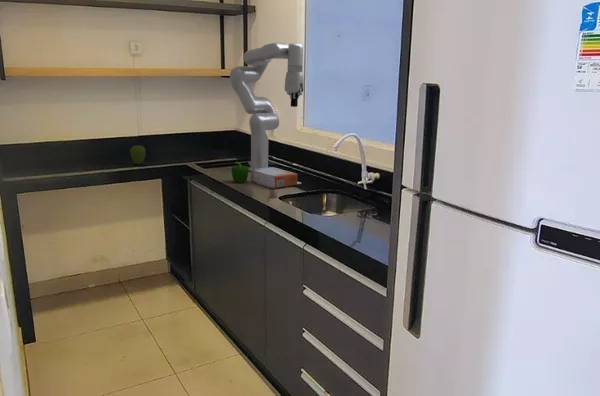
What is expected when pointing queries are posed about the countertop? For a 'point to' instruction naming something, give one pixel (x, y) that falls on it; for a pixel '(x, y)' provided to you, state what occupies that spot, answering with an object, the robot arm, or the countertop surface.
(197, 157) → the countertop surface
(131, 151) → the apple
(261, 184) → the mat
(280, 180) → the cracker box
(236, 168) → the bell pepper
